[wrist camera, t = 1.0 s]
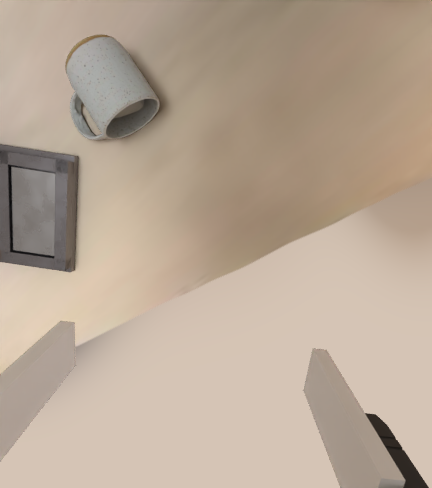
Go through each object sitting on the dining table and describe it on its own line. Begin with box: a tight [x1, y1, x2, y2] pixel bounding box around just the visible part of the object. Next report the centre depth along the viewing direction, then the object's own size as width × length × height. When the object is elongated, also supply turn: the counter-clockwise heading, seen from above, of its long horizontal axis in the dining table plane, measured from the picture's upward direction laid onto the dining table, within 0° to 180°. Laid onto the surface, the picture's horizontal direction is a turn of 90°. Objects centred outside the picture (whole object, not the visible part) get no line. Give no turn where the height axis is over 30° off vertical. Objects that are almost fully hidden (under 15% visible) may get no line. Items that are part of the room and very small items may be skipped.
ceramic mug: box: [66, 35, 160, 140], centre depth 31 cm, size 11×8×8 cm
